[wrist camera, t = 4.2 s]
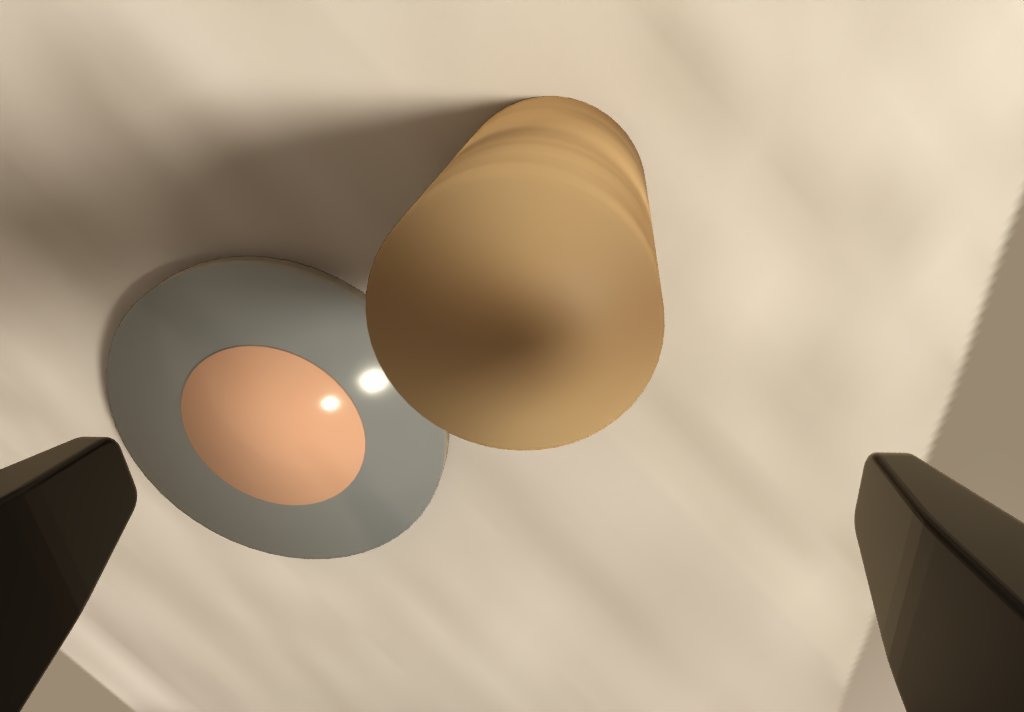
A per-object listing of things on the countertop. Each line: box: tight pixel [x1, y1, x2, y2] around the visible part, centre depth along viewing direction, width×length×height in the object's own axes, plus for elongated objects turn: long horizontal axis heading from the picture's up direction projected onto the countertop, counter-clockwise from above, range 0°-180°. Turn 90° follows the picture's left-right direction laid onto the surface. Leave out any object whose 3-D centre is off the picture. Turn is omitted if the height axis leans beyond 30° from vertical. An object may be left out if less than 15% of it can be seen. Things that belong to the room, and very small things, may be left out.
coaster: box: [106, 256, 449, 559], centre depth 23 cm, size 11×11×1 cm
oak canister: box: [365, 96, 665, 451], centre depth 15 cm, size 5×5×8 cm
